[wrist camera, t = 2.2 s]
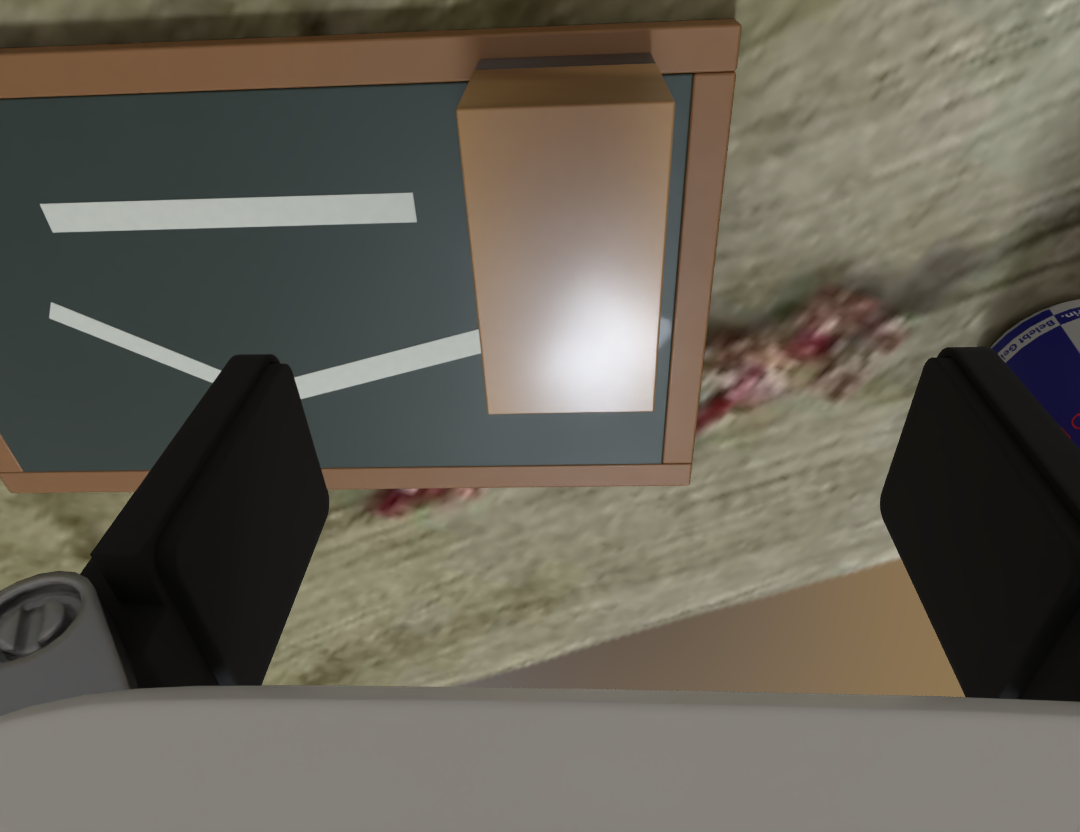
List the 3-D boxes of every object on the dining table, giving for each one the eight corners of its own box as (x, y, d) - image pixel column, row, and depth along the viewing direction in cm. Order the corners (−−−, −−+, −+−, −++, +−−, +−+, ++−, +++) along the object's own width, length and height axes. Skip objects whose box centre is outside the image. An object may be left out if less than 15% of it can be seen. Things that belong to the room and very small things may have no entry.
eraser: (500, 322, 21) (487, 415, 17) (478, 58, 17) (455, 108, 13) (638, 319, 21) (654, 412, 17) (651, 51, 17) (675, 100, 13)
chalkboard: (22, 478, 26) (9, 494, 26) (-241, 57, 18) (-272, 64, 17) (686, 470, 25) (689, 486, 25) (735, 17, 17) (742, 24, 16)
